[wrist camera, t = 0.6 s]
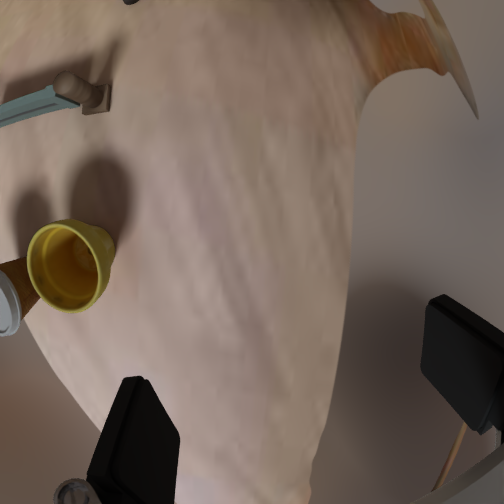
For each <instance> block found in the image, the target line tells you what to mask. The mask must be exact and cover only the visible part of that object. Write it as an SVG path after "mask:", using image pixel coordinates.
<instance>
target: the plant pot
mask: <svg viewBox="0 0 504 504" xmlns="http://www.w3.org/2000/svg"><path fill="white" fill-rule="evenodd" d="M90 250H91V252H92V253H91V252H90ZM114 257H115V246H114V243H113V240H112V238H111V236H110V235H109V234H108V232H107V231H105V230H104V229H103V228H101V227H98V226H94V225H87V224H85V223H84V222H81V221H78V220H74V219H65V220H59V221H56V222H53V223H50V224H47V225H45V226H43V227H42V228H40V229H39V230H38V231H37V232H36V233H35V235H34V236H33V238H32V239H31V241H30V244H29V247H28V252H27V268H28V273H29V277H30V280H31V282H32V284H33V286H34V288H35V290H36V292H37V293H38V294H39V296H40V297H41V298H42V299H43V300H44V301H45V302H46V303H47V304H48V305H50V306H51V307H53V308H55V309H57V310H59V311H62V312H66V313H78V312H82V311H84V310H86V309H88V308H89V307H91V306H92V305H93V304H94V303H95V302H96V301H97V300H98V298H99V297H100V296H101V295H102V293H103V292H104V291H105V289H106V287H107V285H108V282H109V278H110V270H111V265H112V263H113V260H114Z"/></svg>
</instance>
